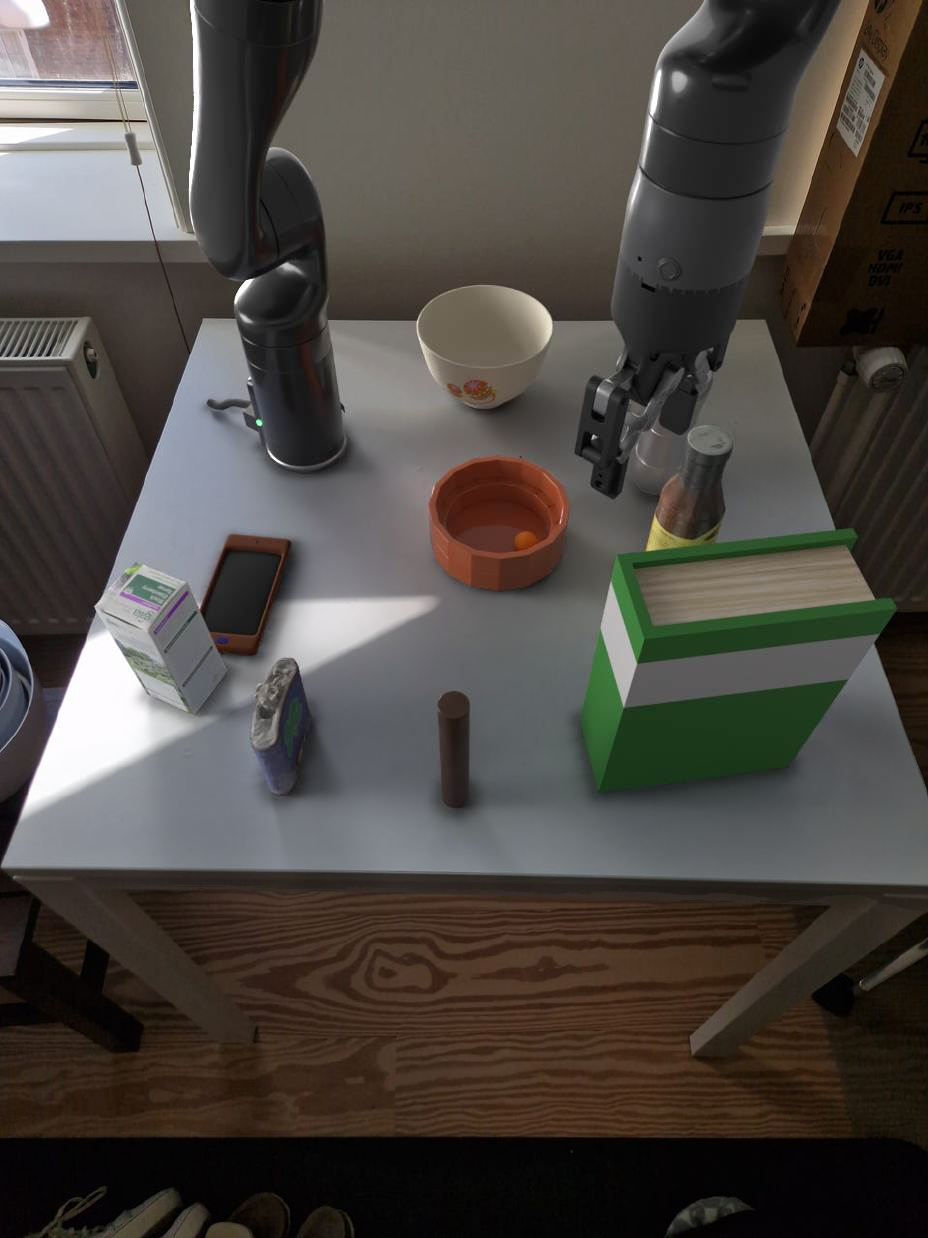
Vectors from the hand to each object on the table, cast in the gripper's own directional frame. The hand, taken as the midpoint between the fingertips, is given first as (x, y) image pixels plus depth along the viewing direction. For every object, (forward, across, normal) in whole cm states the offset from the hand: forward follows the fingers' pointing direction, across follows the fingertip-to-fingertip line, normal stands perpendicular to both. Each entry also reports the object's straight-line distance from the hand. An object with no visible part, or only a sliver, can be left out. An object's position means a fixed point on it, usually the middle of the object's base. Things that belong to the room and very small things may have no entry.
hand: (639, 459), depth 61 cm
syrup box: (+28, +27, -28) cm, 48 cm away
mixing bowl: (+28, -6, -17) cm, 33 cm away
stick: (+28, +19, -1) cm, 34 cm away
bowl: (+28, -24, -35) cm, 51 cm away
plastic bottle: (+28, -25, -10) cm, 39 cm away
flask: (+28, +26, -16) cm, 41 cm away
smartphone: (+28, +17, -33) cm, 46 cm away
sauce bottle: (+28, -13, 0) cm, 31 cm away
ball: (+26, -7, -14) cm, 30 cm away
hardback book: (+28, +1, +11) cm, 30 cm away
